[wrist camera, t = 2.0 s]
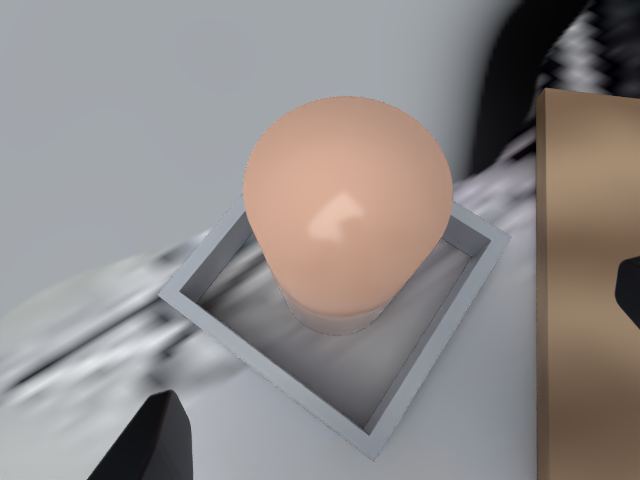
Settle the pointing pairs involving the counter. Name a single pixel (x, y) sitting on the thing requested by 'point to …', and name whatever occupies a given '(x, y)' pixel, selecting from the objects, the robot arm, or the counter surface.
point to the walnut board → (586, 286)
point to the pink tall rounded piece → (346, 207)
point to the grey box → (188, 289)
